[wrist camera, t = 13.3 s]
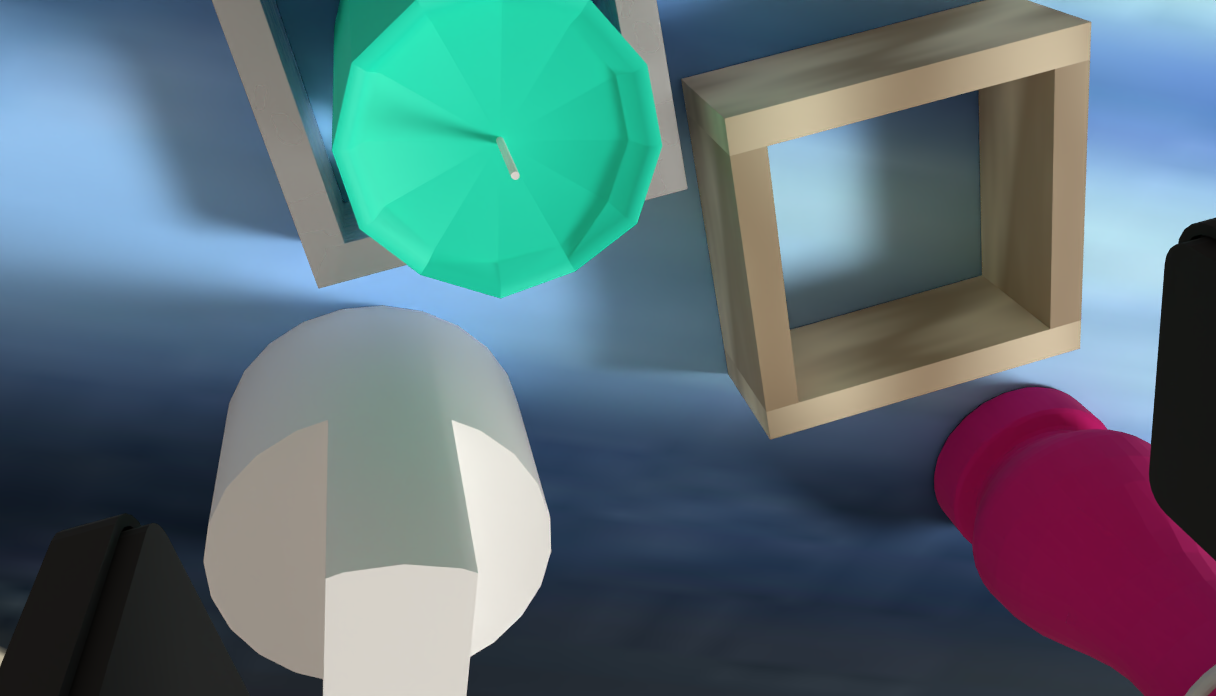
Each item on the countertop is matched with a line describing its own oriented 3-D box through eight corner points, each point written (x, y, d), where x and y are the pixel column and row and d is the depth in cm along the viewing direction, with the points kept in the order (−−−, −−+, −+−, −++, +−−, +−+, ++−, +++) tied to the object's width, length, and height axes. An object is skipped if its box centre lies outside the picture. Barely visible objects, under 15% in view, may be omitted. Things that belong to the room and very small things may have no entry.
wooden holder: (591, -229, 26) (618, -229, 24) (659, 154, 31) (687, 189, 29) (183, -136, 25) (165, -125, 23) (320, 244, 30) (318, 288, 28)
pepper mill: (881, 479, 39) (1308, 1040, 22) (1031, 336, 38) (1618, 818, 20) (991, 566, 42) (1437, 1111, 25) (1133, 437, 41) (1713, 926, 24)
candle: (286, -19, 27) (254, 111, 17) (494, -139, 27) (592, -82, 17) (412, 178, 30) (450, 391, 20) (600, 72, 30) (738, 230, 20)
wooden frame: (1008, -6, 31) (1091, 21, 28) (1010, 293, 36) (1079, 348, 33) (681, 79, 31) (724, 118, 27) (728, 374, 36) (770, 439, 32)
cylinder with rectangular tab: (220, 301, 31) (161, 572, 20) (533, 309, 33) (622, 557, 23) (228, 555, 35) (182, 890, 24) (506, 547, 37) (572, 850, 27)
